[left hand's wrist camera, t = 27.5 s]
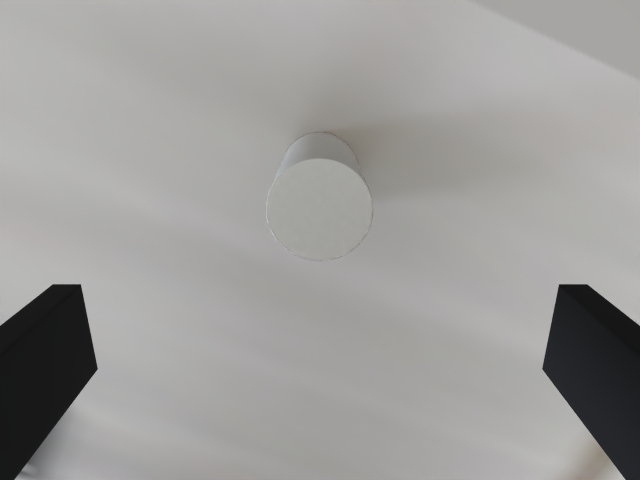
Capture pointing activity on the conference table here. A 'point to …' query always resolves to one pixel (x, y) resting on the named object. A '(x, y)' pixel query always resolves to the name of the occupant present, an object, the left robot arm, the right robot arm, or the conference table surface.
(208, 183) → the conference table surface
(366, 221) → the cylinder
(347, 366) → the conference table surface
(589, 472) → the conference table surface
